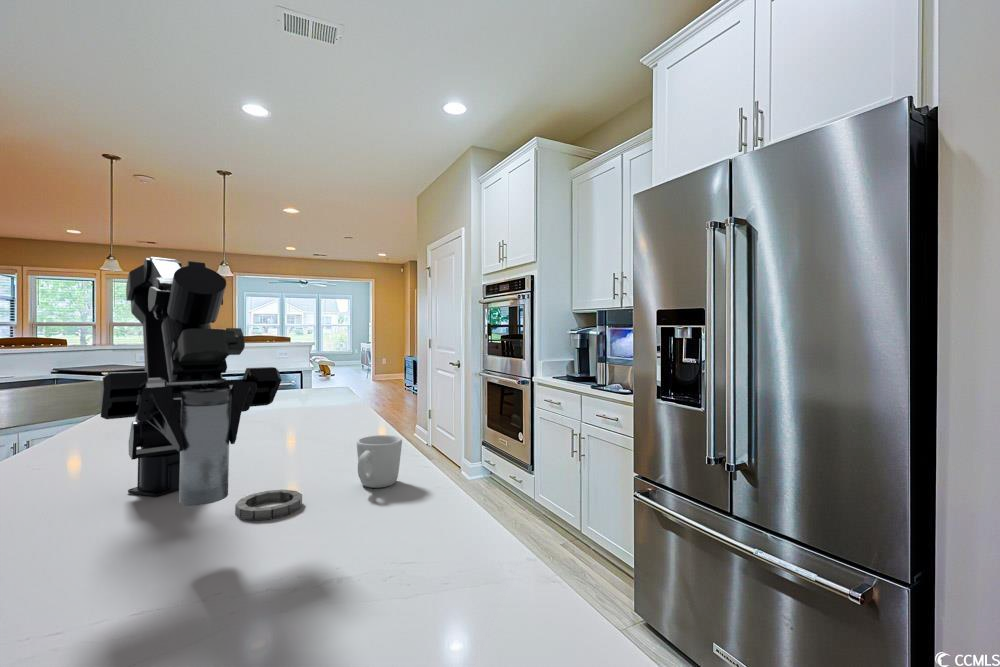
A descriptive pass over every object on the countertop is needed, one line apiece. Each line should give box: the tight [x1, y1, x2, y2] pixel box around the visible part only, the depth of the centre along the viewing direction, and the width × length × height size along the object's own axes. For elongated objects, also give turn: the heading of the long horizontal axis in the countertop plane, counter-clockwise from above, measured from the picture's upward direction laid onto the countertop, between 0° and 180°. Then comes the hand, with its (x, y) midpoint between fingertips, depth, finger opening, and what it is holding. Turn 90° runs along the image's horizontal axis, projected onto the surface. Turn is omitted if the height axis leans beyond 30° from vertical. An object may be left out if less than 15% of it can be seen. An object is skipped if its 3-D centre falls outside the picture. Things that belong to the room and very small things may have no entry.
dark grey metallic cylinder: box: [178, 388, 230, 507], centre depth 55 cm, size 5×5×13 cm
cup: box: [356, 434, 403, 489], centre depth 81 cm, size 11×8×8 cm
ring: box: [234, 489, 303, 522], centre depth 70 cm, size 9×9×1 cm
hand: (208, 445), depth 54 cm, fingers closed on dark grey metallic cylinder, 5 cm apart
